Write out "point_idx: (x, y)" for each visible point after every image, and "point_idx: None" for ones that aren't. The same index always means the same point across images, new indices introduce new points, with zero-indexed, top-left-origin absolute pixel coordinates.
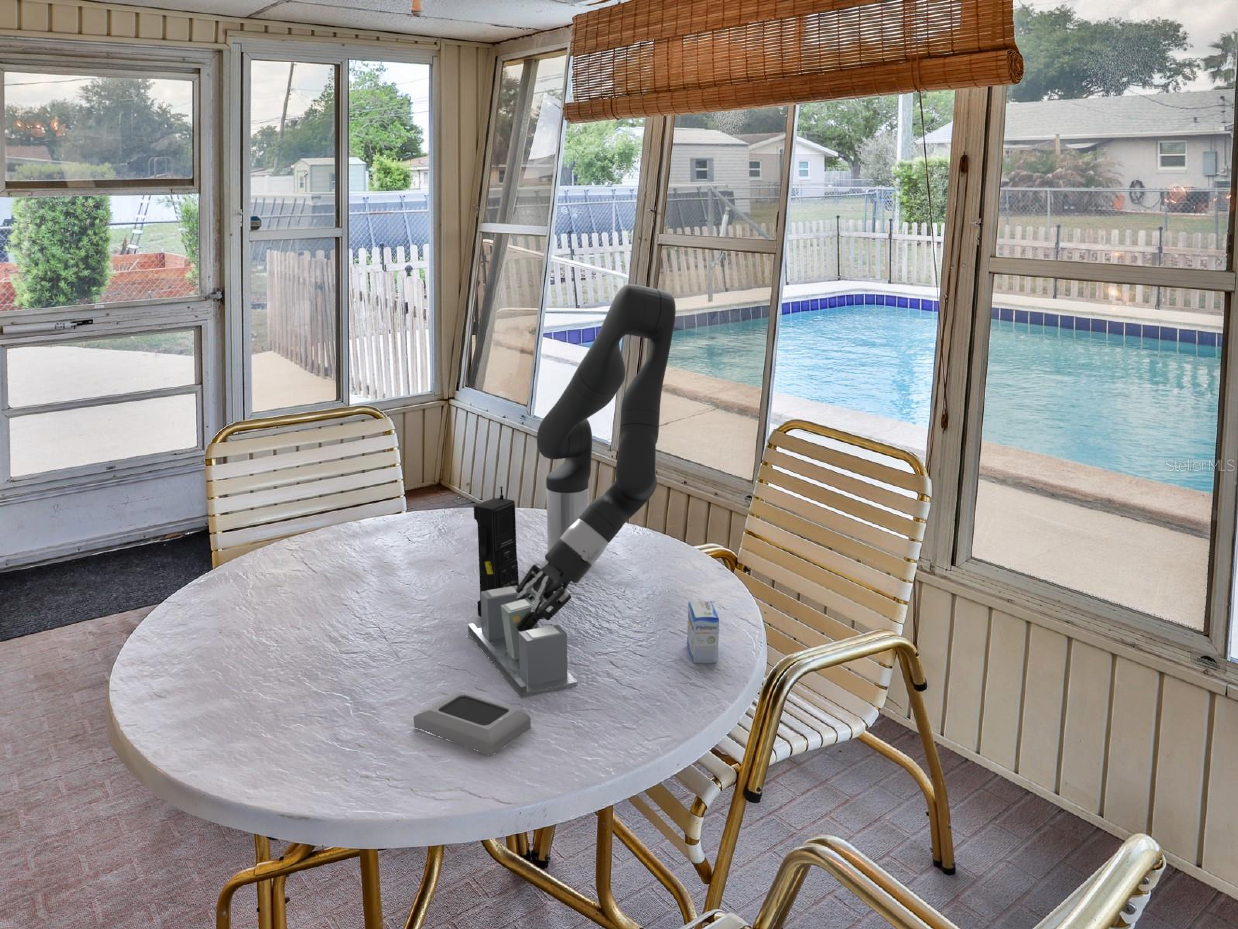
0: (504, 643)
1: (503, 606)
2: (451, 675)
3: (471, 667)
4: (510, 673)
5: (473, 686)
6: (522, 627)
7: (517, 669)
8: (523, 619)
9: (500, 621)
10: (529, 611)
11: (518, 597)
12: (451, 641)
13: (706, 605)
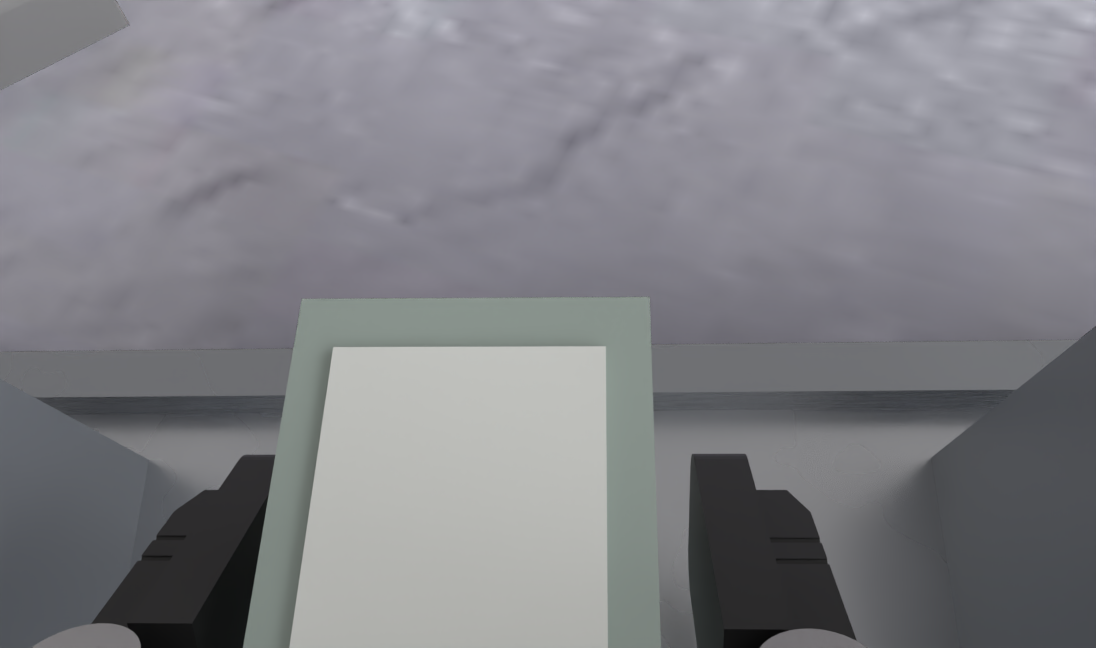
0: None
1: (574, 315)
2: (498, 88)
3: (555, 228)
4: (102, 355)
5: (273, 165)
6: (202, 499)
7: None
8: (221, 521)
9: (1016, 547)
10: (181, 618)
11: (783, 643)
12: (1078, 218)
13: None
